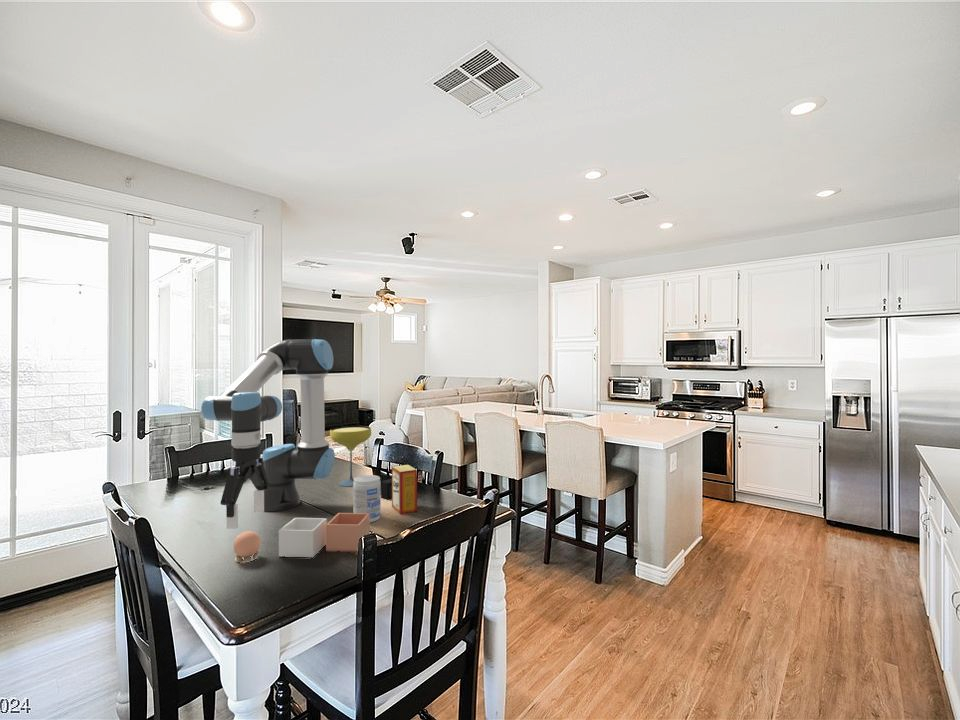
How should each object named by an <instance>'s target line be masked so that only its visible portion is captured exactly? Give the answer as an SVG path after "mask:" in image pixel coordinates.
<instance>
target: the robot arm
mask: <svg viewBox="0 0 960 720" xmlns="http://www.w3.org/2000/svg"><path fill="white" fill-rule="evenodd" d="M333 366H334V352H333V350H332V347H331V345H330V343H329V342H328V341H327V340H325V339H320V338H319V339H316V338H313V339H309V338H308V339H305V338H304V339H292V338H291V339H289V338H288V339H284V340H281V341H278V342H276V343H274V344H272V345H270V346H269V347H267V348H265V349H264V350H262V352H260V353H259V354H258V355H257V357H256V361H254V363H253V364H252V365H250V366H249V368H247V369H246V370H245V371H244V372H243V373H242V374H241V375H240V376H239V377H238V378H237V379H235V381H234V382H233V383H231V384H230V385H229V386H228V387H227V388H226V389H225V390H223V392H222V393H220V394H219V395H213V396H207V397H205V398H204V400H203V401H202V403H201V406H200V407H201V408H200V410H201V413H202V417H203V418H204V419H205V420H207V421H216V422H219V421H220V422H223V421H224V422H225V421H227V422H228V421H229V422H230V421H231V435H230V438H231V442H230V443H231V444H230V445H231V446H232V448H231V460H232V461H233V462H235V467H232V466H231V467H228V468H227V477H226V480H225V484H224V488H223V492H222V495H221V499H220V505H221V506H225V507H226V513H225V514H226V529H235V530H236V529H238V528H239V504H238V503H237V501H238V498H239V496H240V494H241V492H242V488H243V486H244V483H246V482H247V480H248V479H249V480H250V481H251V483H252V485H253V487H254V488H255V489H254V490H253V501H254V502H253V512H254V513H264V512H278V511H285V510H289V509H294V508H295V507H297V506H299V505H300V503H301V497H300V493H299V490H298V488H297V485H296V480H315V481H316V480H324V479H326V478H328V477H329V476H330V474H331V473H332V470H333V468H334V464H335V460H336V458H335V457H336V453H335V450H334V449H333V448H330V442H329V441H327V440H326V433H325V428H326V427H325V422H326V421H325V377H327V375H328V374H329V370H331V369H332V368H333ZM285 370H286V371H287V370H295V375H296V376H297V377H298V378H299V379H300V427H301V429H300V430H301V431H300V433H301V434H300V436H301V437H300V439H301V440H300V441H299V443H298V444H297V446H296V445H295V444H294V443H285V444H280V445H274V446H271V447H270V446H269V447H267V448H265V449H264V450H263V451H262V447H261V445H260V444H261V437H262V434H261V430H262V429H261V424H262V423H261V422H265V421H272V420H274V419H276V418H278V417H279V416H280V415H281V413H282V410H283V404H282V402H281V400H280V399H279V397H277V396H274V395H264V396H263V395H262V396H261V394H260V392H259V391H260V389H261V388H263V386H264V385H265V384H266V383H267V382H268V381H269V380H270V379H271V378H272V377H273V376H274V375H278V374H279V373H280V372H281V371H285ZM261 451H262V453H261ZM261 455H262V456H261Z"/></svg>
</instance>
